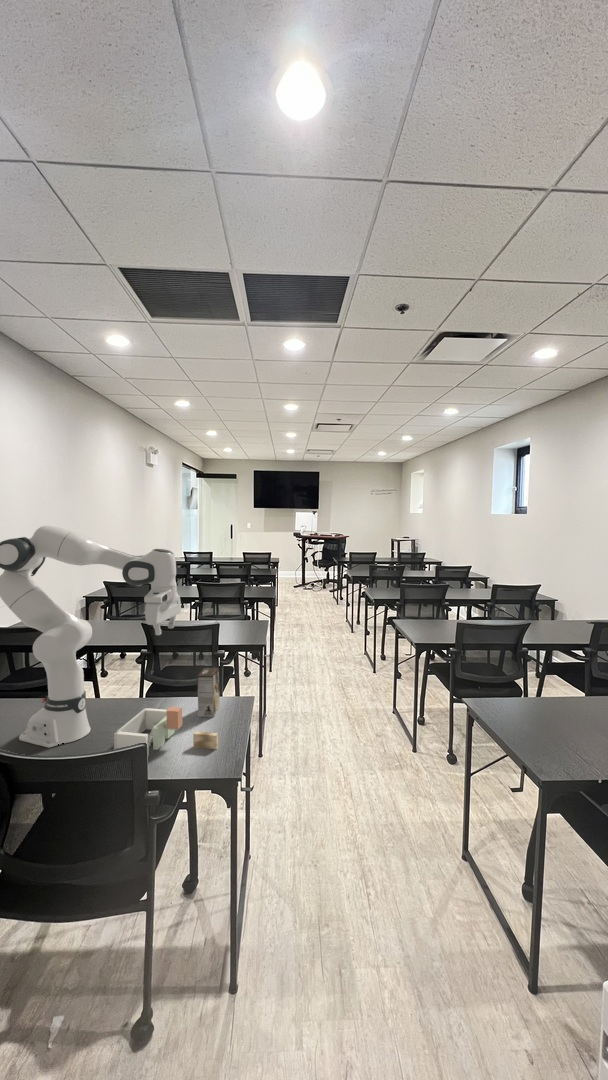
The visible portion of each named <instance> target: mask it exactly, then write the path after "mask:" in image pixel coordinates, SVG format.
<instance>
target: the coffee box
mask: <svg viewBox="0 0 608 1080" xmlns="http://www.w3.org/2000/svg"><path fill="white" fill-rule="evenodd" d="M196 680H197V711H198V712H197V713H198V714H197V716H198V718H214V717H215V716H216V715H215V714H217V713H218V711H219V709H220V707H221V706H220V702H221V701H220V697H221V696H220V667H204V668H203V669H201V671H199V673H198V675H197V678H196ZM216 712H217V713H216Z"/></svg>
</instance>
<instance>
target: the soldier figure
mask: <svg viewBox="0 0 608 1080" xmlns="http://www.w3.org/2000/svg"><path fill="white" fill-rule="evenodd" d="M153 724H154V725H153V726H154V727H155V726H156V725H157V724H158V723H153ZM152 744H153V729H152V730H150V733H148V747H151V746H152Z"/></svg>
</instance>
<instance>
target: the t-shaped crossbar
mask: <svg viewBox="0 0 608 1080" xmlns="http://www.w3.org/2000/svg"><path fill="white" fill-rule="evenodd" d="M182 709H183V707H177V706H176V707H175V706H169V707H168V709H166V710H167V711H166V716H165V717H164V718H163V719H162V720H161V721H160V722H159V723H158V724H157V725H156V726H155V727H154V728H153V742H152V745H153V747H152V750H156V751H157V750H159V749H160V748H161V747H162V746H163V745H164V744H165V742H166V741H165V739H169V738H171V737H172V735H173V734H174V733H175V732H176V731H178V730H179V729H181V727H182V726H183V710H182Z"/></svg>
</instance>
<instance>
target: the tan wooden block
mask: <svg viewBox="0 0 608 1080" xmlns="http://www.w3.org/2000/svg"><path fill="white" fill-rule="evenodd" d="M192 735H193V737H192V739H193V748H197V749H198V748H199V749H208V750H209V749H210V750H217V749H218V748H219V733H218V732H208V731H194V732H193V734H192Z"/></svg>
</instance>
